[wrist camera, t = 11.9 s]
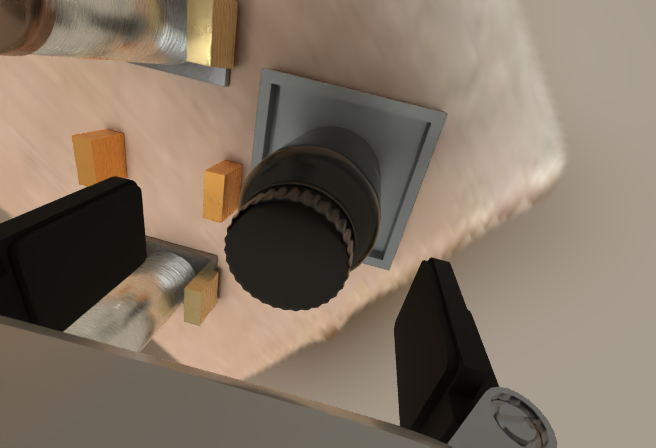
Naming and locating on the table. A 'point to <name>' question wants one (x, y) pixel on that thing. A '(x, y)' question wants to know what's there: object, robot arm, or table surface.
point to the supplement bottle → (306, 219)
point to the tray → (368, 122)
